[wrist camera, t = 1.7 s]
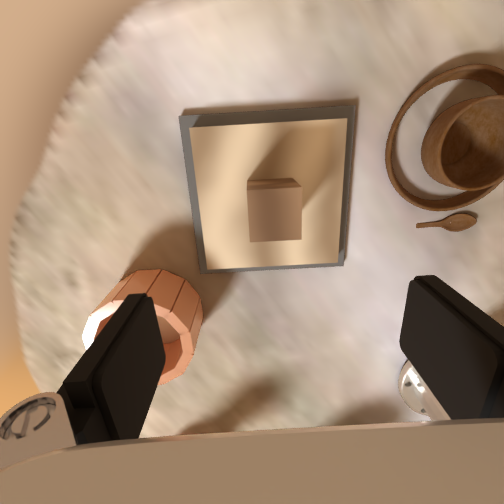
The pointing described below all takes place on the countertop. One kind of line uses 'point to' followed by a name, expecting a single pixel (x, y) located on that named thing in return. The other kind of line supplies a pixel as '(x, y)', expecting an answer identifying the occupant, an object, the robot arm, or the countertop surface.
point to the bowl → (158, 315)
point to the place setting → (459, 146)
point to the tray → (257, 118)
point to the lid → (270, 192)
